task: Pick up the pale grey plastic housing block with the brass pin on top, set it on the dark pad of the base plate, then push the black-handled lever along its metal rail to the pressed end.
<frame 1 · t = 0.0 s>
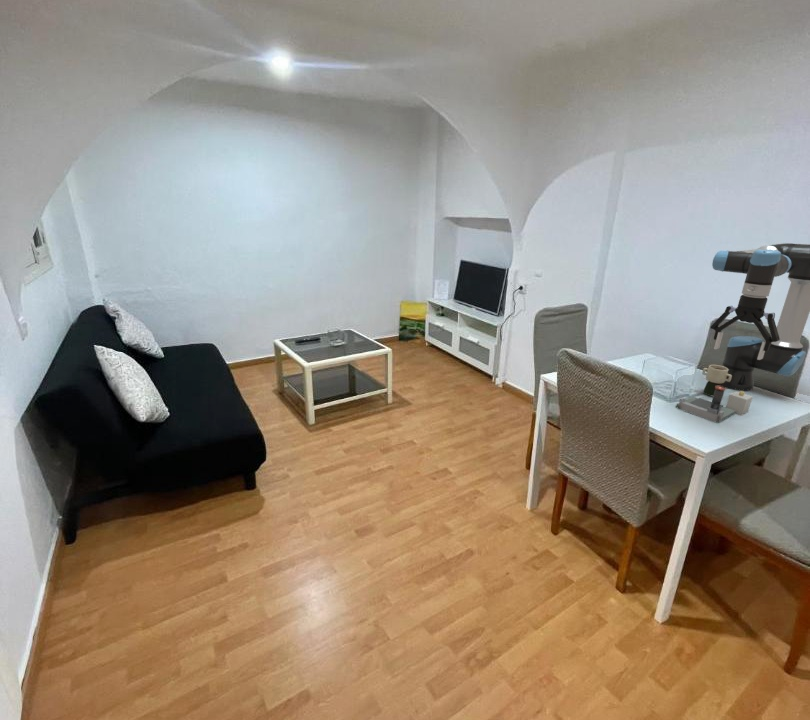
hand: (737, 353, 156), 28 cm above the table, fingers open, 13 cm apart
housing: (736, 410, 175), on the table
lever: (717, 399, 165), point 8 cm above the table, slide at 0.0 cm
base plate: (705, 410, 175), on the table
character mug: (710, 395, 190), on the table
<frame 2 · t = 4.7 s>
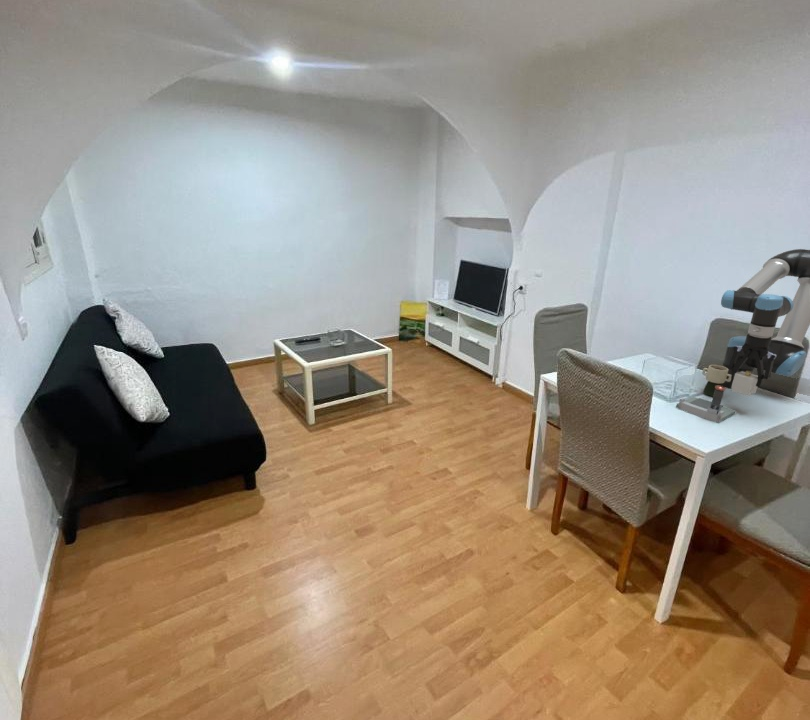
hand: (743, 390, 173), 9 cm above the table, fingers closed on housing, 6 cm apart
housing: (742, 391, 173), point 9 cm above the table, touching gripper
everything else where it was.
when the fingers open (3 cm above the table, at t = 8.3 s): housing stays where it is, resting on base plate.
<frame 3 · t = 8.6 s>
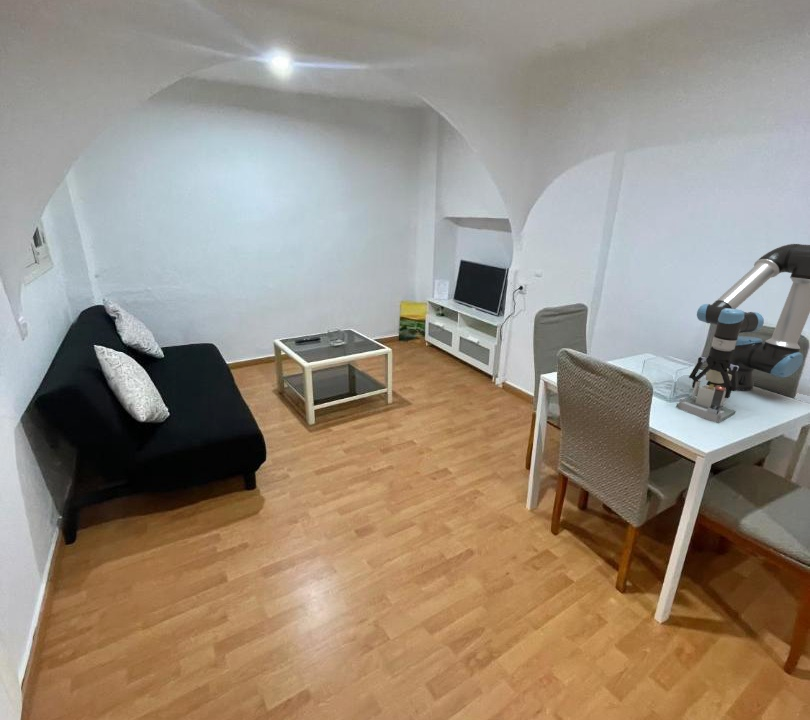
hand: (707, 400, 176), 4 cm above the table, fingers open, 9 cm apart
housing: (706, 404, 177), point 2 cm above the table, touching base plate
everything else where it was.
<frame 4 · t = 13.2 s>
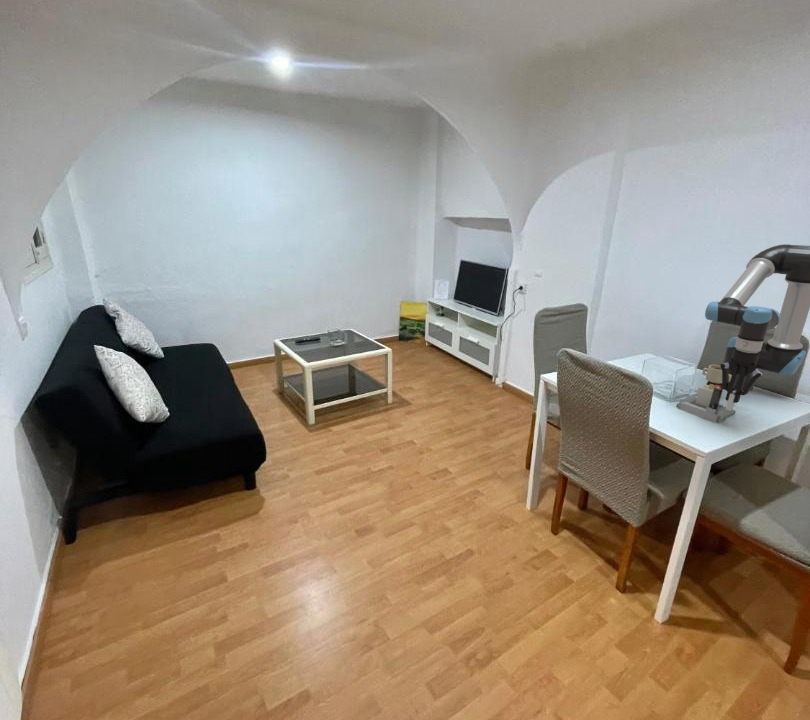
hand: (729, 409, 162), 6 cm above the table, fingers closed
lever: (715, 399, 165), point 8 cm above the table, slide at 0.6 cm, touching gripper
everything else where it was.
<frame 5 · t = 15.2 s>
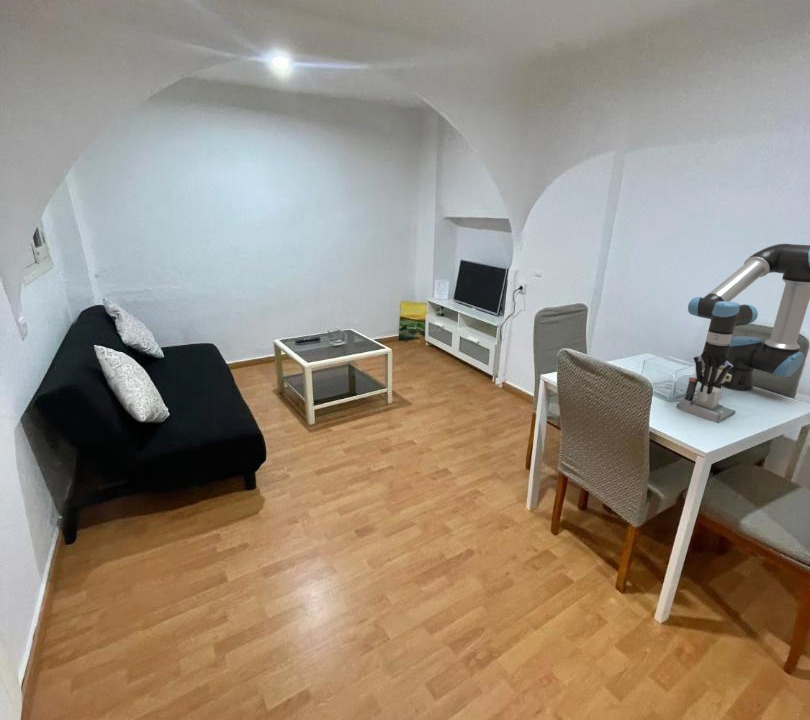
hand: (703, 400, 169), 6 cm above the table, fingers closed
lever: (690, 391, 172), point 9 cm above the table, slide at 9.4 cm, touching gripper, hand, base plate
everything else where it was.
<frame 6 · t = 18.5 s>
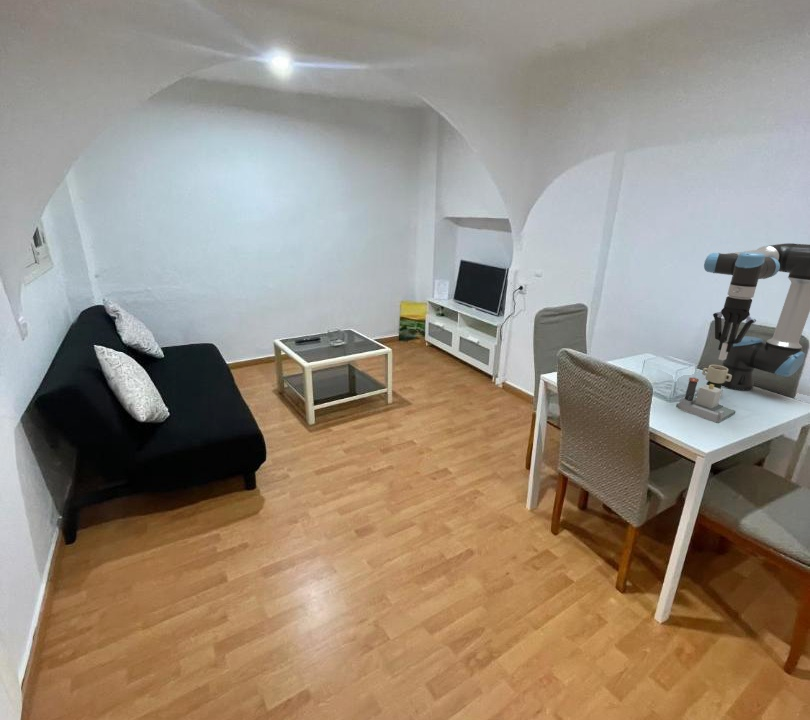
hand: (722, 359, 161), 24 cm above the table, fingers closed
lever: (690, 391, 172), point 8 cm above the table, slide at 9.4 cm, touching base plate
everything else where it was.
at the end: housing inside the target area on the base plate (0.2 cm from its centre), point 1.8 cm above the base plate's base; housing tilted 0°; lever slide at 9.4 cm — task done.
